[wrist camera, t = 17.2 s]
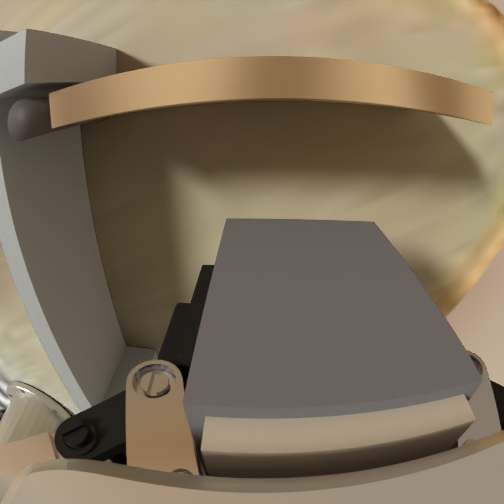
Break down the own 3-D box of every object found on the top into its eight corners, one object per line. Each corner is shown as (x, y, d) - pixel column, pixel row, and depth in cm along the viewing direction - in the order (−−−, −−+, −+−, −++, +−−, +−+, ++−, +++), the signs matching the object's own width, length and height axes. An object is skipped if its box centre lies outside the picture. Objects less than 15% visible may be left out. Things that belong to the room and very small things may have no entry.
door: (91, 122, 17) (10, 144, 10) (89, 96, 16) (5, 106, 9) (414, 113, 16) (495, 129, 9) (414, 86, 15) (497, 89, 8)
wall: (162, 371, 27) (140, 451, 19) (120, 366, 27) (91, 440, 19) (117, 32, 14) (29, 3, 6) (61, 48, 14) (-34, 41, 6)
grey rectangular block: (373, 221, 10) (496, 404, 3) (350, 332, 12) (395, 501, 6) (226, 218, 10) (175, 438, 3) (231, 333, 12) (212, 515, 6)
